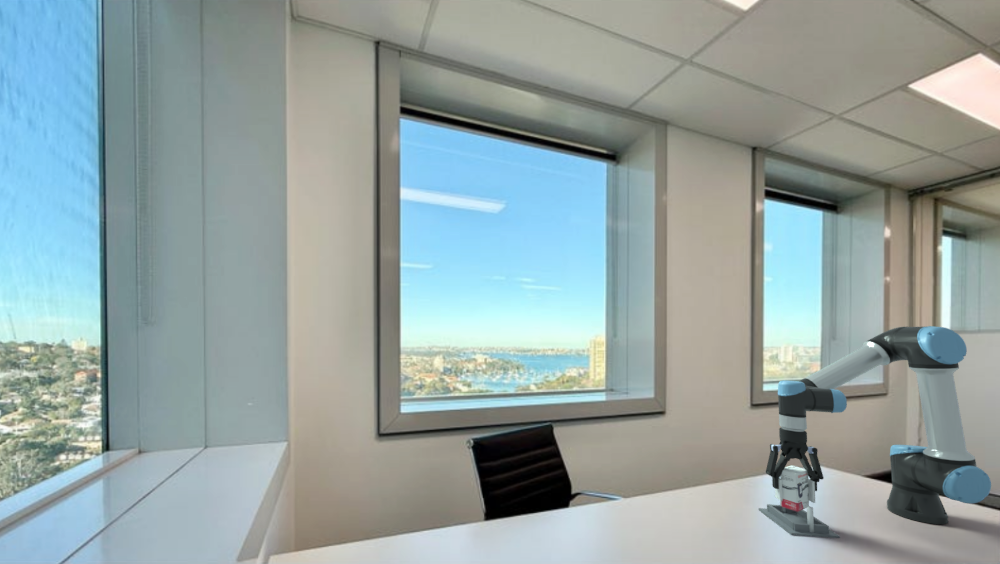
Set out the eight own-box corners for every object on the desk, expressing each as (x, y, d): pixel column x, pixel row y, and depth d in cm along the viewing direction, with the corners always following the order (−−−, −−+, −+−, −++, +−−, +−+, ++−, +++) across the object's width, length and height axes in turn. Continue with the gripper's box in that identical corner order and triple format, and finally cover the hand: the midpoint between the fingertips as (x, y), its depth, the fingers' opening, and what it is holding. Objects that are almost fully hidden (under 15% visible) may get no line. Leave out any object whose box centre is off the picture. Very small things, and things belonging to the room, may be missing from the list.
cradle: (800, 512, 146) (799, 489, 146) (839, 538, 128) (838, 511, 129) (758, 510, 146) (757, 486, 147) (791, 535, 129) (790, 508, 129)
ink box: (798, 512, 133) (796, 473, 135) (780, 506, 137) (779, 468, 139) (810, 507, 138) (808, 469, 139) (792, 501, 142) (791, 464, 143)
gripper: (819, 428, 143) (822, 497, 141) (752, 424, 145) (753, 493, 142) (836, 433, 136) (839, 507, 133) (764, 429, 137) (766, 502, 135)
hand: (795, 500), depth 138 cm, fingers closed on ink box, 9 cm apart
